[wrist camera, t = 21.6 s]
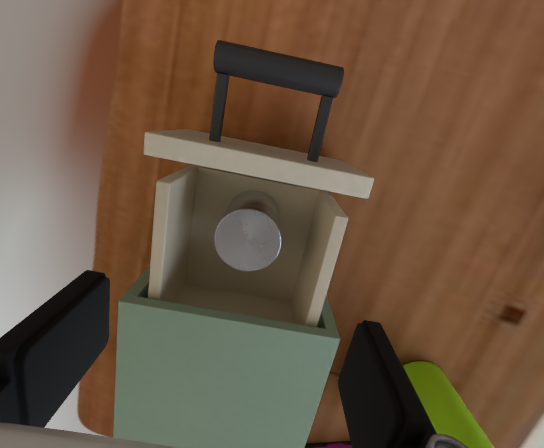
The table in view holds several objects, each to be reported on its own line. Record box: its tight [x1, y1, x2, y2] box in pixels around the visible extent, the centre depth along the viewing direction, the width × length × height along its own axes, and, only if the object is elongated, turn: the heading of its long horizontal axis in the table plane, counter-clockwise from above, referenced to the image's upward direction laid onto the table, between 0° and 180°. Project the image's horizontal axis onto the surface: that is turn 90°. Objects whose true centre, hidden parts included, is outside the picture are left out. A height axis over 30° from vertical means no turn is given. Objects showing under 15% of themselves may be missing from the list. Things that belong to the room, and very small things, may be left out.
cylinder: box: [214, 190, 281, 271], centre depth 21 cm, size 4×4×6 cm
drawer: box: [144, 40, 374, 327], centre depth 21 cm, size 19×12×8 cm, turn 169°
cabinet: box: [113, 266, 340, 448], centre depth 25 cm, size 15×14×10 cm
